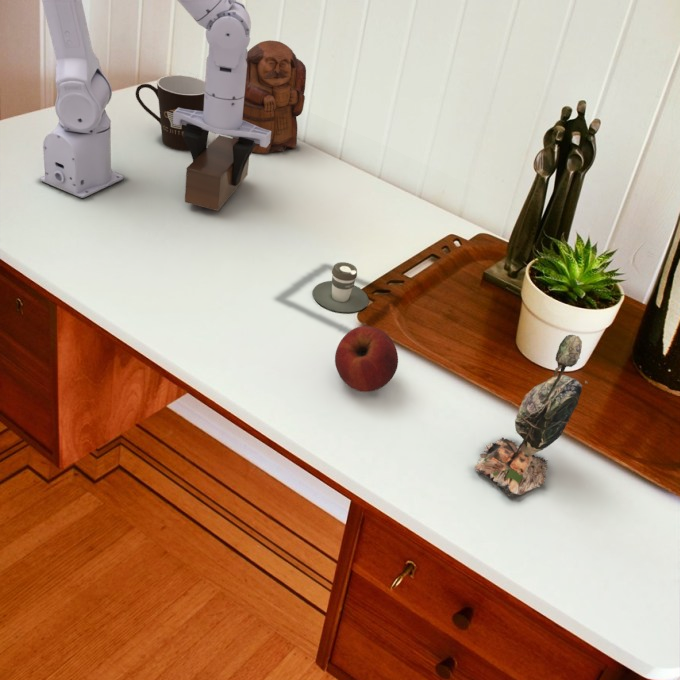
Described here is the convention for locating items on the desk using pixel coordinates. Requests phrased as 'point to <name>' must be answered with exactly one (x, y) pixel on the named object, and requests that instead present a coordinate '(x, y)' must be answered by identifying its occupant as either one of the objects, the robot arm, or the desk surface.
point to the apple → (366, 359)
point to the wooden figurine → (274, 93)
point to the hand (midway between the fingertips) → (218, 178)
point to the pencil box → (212, 175)
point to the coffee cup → (341, 291)
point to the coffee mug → (175, 105)
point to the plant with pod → (535, 427)
